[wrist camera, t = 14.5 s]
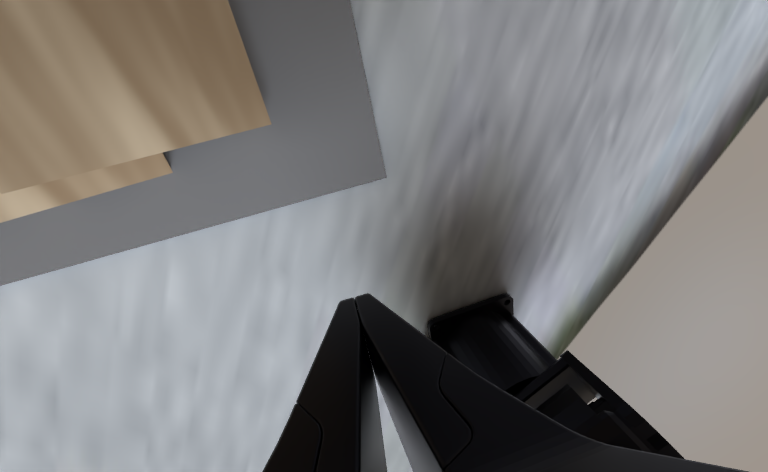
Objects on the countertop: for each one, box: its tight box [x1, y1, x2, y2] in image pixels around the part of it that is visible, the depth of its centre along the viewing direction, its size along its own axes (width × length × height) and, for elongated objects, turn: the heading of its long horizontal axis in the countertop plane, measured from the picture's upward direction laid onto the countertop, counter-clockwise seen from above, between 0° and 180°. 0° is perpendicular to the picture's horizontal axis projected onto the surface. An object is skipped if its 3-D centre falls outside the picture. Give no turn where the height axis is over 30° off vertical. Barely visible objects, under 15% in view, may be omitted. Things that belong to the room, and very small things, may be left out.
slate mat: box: [0, 0, 387, 286], centre depth 12 cm, size 25×12×1 cm, turn 102°
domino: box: [0, 0, 271, 194], centre depth 10 cm, size 2×6×8 cm
